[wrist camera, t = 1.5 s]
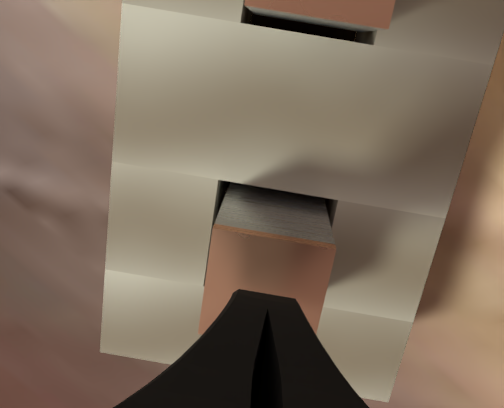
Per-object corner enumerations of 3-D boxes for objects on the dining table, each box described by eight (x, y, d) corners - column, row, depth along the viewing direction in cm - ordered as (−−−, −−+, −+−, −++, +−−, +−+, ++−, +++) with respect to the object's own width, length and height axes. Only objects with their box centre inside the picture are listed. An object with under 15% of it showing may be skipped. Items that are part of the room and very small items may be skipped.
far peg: (230, 181, 15) (212, 228, 12) (323, 197, 15) (336, 249, 12) (217, 265, 16) (197, 334, 13) (305, 280, 16) (311, 353, 13)
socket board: (180, -231, 14) (143, -327, 11) (511, -177, 14) (592, -255, 11) (134, 293, 20) (99, 352, 17) (368, 334, 20) (388, 402, 16)
